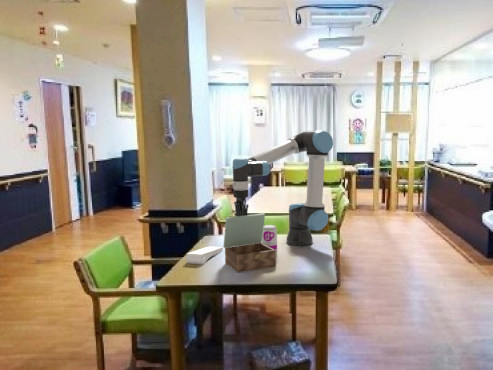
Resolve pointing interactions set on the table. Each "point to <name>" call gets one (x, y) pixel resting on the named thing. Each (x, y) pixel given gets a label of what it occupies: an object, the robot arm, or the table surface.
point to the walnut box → (250, 257)
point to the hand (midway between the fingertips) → (241, 235)
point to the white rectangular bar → (202, 255)
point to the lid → (243, 230)
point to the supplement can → (270, 236)
